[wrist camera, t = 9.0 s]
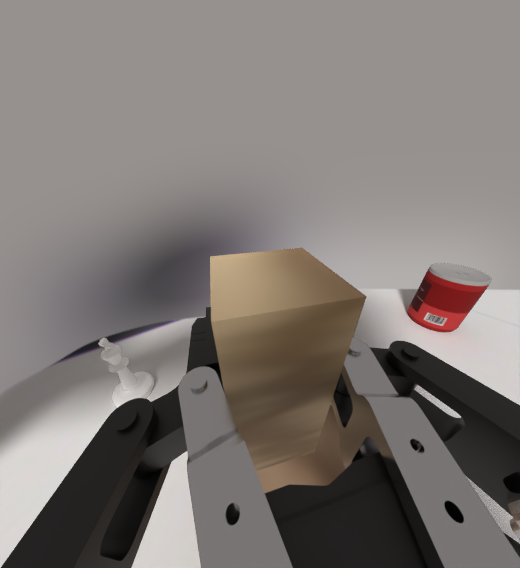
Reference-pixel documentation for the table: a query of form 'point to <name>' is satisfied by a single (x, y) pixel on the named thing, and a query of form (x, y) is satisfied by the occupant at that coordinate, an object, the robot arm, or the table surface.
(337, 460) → the walnut block
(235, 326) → the oak block
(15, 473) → the table surface
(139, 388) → the chess piece
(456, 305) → the canned food
